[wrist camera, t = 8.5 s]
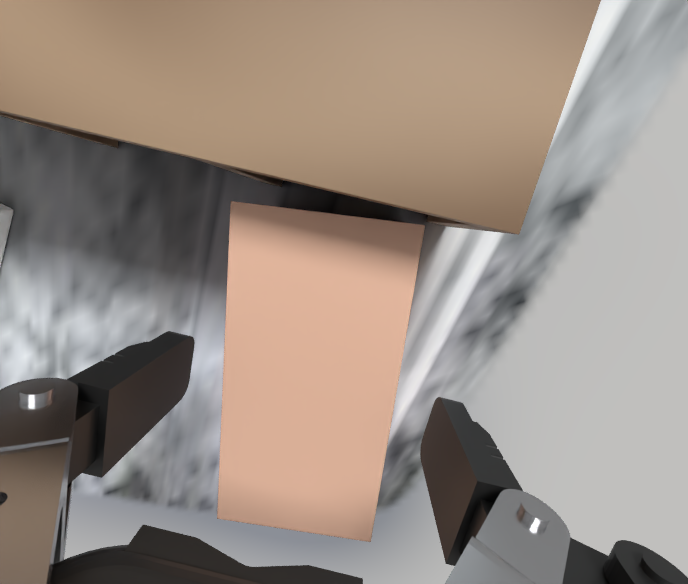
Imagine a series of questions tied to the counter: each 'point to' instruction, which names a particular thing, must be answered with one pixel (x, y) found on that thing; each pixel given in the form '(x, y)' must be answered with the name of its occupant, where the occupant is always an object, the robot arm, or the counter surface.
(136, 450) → the counter surface
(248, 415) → the block
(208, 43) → the wooden bench
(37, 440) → the robot arm
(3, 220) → the milk
